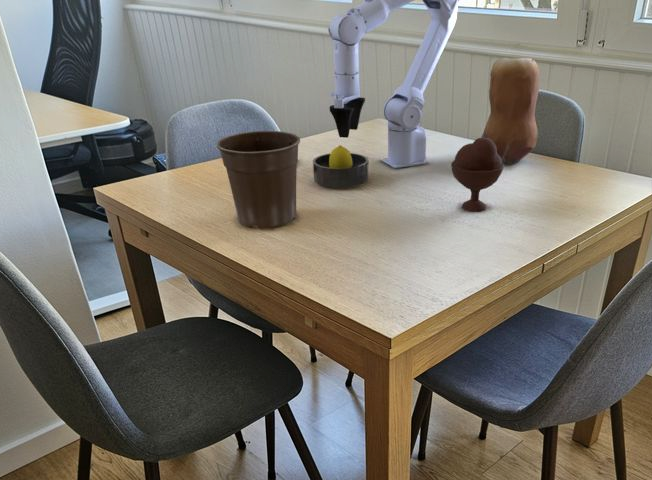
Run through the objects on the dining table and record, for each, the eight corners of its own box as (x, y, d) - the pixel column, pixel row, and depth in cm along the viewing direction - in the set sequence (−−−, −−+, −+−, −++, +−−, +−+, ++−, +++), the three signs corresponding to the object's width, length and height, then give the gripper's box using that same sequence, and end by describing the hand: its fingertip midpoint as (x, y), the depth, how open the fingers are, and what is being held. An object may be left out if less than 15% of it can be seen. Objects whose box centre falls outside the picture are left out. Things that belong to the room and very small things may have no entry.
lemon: (329, 175, 152) (327, 142, 148) (352, 175, 152) (351, 141, 148) (330, 183, 147) (328, 149, 143) (353, 182, 148) (352, 148, 143)
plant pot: (214, 216, 131) (202, 138, 123) (280, 199, 140) (273, 125, 131) (251, 240, 121) (240, 157, 112) (320, 220, 129) (315, 141, 120)
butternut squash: (500, 151, 170) (511, 51, 157) (543, 160, 163) (558, 56, 149) (470, 162, 162) (478, 57, 148) (514, 172, 154) (527, 63, 141)
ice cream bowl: (502, 201, 137) (510, 131, 129) (494, 219, 129) (501, 146, 120) (455, 196, 140) (460, 128, 132) (444, 213, 131) (448, 141, 123)
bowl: (354, 169, 158) (353, 149, 155) (378, 184, 148) (377, 163, 145) (305, 177, 153) (304, 157, 150) (327, 193, 143) (326, 172, 140)
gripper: (339, 67, 151) (341, 125, 158) (320, 77, 139) (323, 139, 146) (367, 68, 149) (368, 126, 157) (350, 79, 137) (351, 141, 145)
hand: (348, 133), depth 151 cm, fingers open, 7 cm apart
